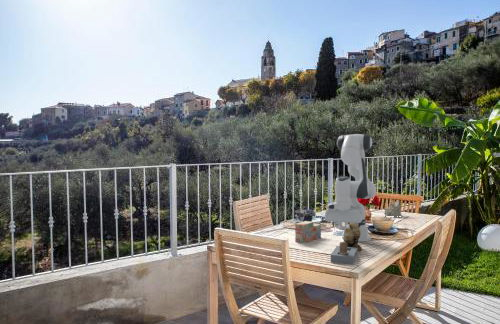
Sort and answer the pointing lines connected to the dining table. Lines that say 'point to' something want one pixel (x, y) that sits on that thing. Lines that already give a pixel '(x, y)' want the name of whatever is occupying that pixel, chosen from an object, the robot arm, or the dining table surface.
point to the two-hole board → (344, 259)
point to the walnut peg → (343, 248)
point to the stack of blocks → (307, 231)
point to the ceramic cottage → (393, 210)
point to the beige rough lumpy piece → (352, 236)
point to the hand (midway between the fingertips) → (343, 229)
